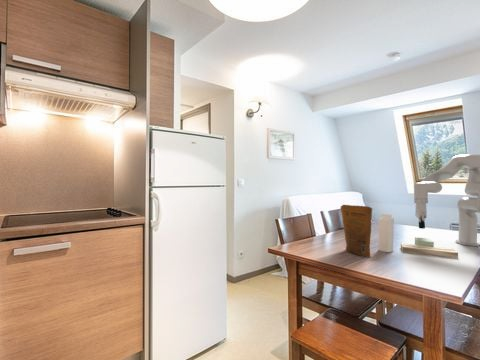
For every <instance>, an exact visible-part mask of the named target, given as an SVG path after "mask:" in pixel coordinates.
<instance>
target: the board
mask: <svg viewBox="0 0 480 360" xmlns="http://www.w3.org/2000/svg"><path fill="white" fill-rule="evenodd" d="M400 250H401V252H403V253H408V254H417V255H425V256H434V257H442V258H443V257H444V258H451V259H459V252H458V251H456V250H455V248H450V247H439V246H434V247H432V246H422V245H415V244H409V243H402V242H401V243H400Z"/></svg>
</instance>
